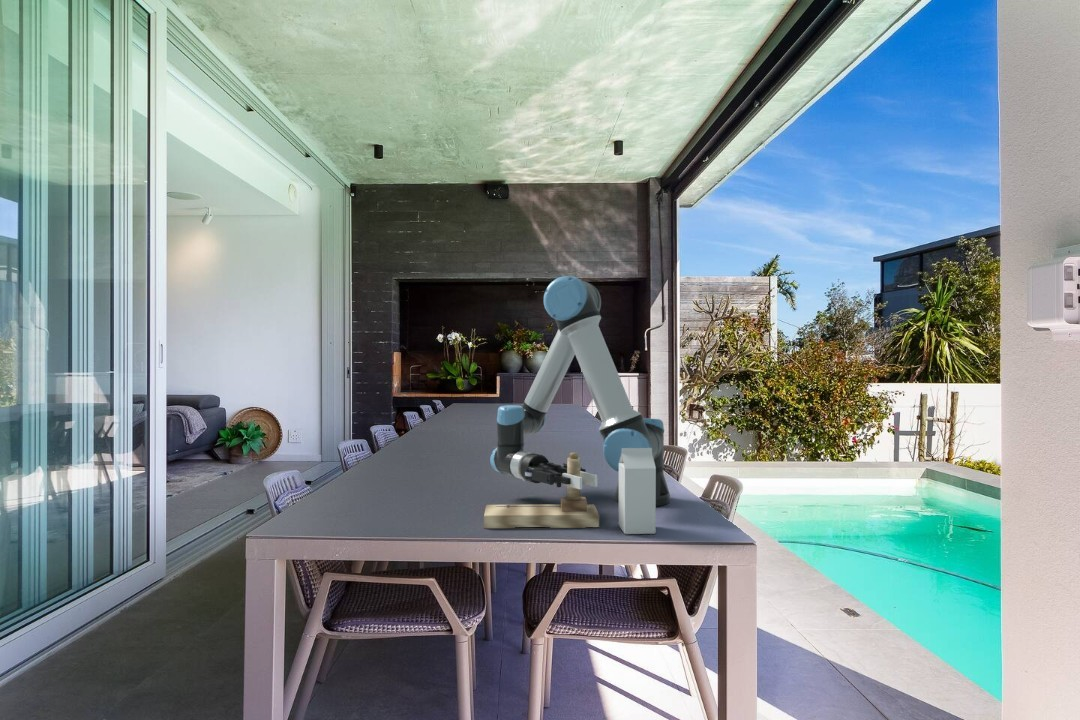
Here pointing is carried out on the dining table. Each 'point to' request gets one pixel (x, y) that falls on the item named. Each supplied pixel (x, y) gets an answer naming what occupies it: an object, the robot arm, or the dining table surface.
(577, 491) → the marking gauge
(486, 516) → the oak plank
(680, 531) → the dining table surface
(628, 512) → the milk carton
